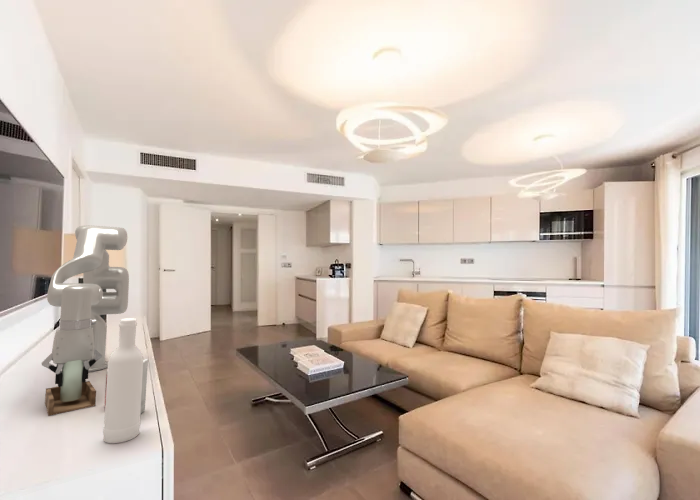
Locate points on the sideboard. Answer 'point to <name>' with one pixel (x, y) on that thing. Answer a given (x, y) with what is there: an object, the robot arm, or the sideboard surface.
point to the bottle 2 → (124, 387)
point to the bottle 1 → (71, 381)
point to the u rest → (58, 406)
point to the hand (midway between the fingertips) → (71, 383)
